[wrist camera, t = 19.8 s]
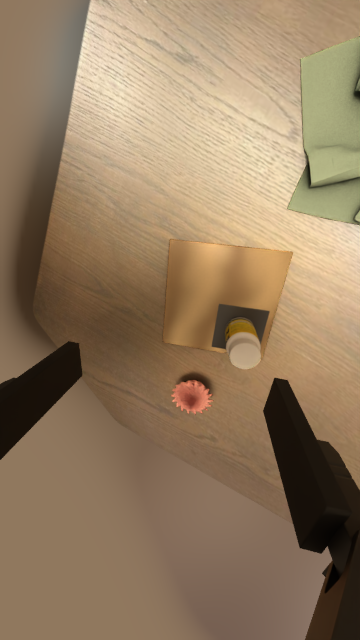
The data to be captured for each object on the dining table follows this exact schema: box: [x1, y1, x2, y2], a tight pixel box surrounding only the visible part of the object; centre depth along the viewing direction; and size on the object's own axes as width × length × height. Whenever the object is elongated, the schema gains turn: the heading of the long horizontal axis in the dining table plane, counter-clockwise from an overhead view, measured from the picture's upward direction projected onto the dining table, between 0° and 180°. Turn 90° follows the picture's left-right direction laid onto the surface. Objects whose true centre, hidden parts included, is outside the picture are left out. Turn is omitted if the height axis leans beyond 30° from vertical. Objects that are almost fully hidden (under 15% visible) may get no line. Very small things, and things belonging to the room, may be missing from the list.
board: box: [163, 239, 293, 359], centre depth 34 cm, size 18×18×1 cm
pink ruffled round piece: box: [171, 380, 214, 415], centre depth 39 cm, size 8×8×6 cm
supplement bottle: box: [225, 317, 261, 369], centre depth 30 cm, size 5×5×8 cm
